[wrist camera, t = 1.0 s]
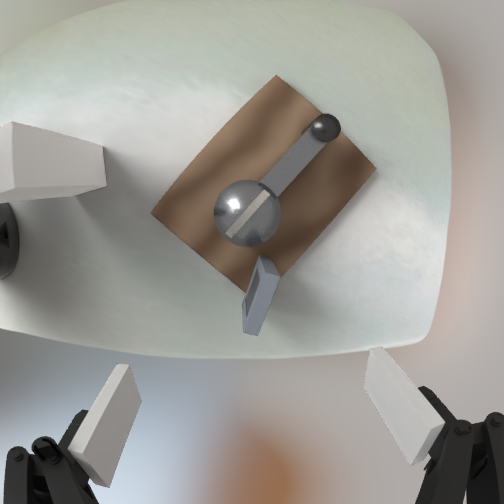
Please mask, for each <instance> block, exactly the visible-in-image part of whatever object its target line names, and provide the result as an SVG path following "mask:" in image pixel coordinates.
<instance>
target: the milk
mask: <svg viewBox="0 0 504 504" xmlns="http://www.w3.org/2000/svg"><path fill="white" fill-rule="evenodd" d="M105 186H107V182H106V174H105V166H104V157H103V147H102V145H98V144H95V143H92V142H88V141H85V140H81V139H78V138H74V137H71V136H67V135H63V134H60V133H56V132H52V131H48V130H45V129H41V128H37V127H33V126H29V125H24V124H20V123H16V122H10V123H7V124H4V125H1V126H0V203H8V202H16V201H25V200H34V199H44V198H55V197H67V196H76V195H79V194H82V193H85V192H89V191H92V190H95V189H99V188H102V187H105Z"/></svg>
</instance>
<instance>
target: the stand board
mask: <svg viewBox="0 0 504 504" xmlns="http://www.w3.org/2000/svg"><path fill="white" fill-rule="evenodd" d="M321 114H322V113H321V112H320V111H319V110H318V109H317V108H316V107H314V106H313V105H312V104H311V103H310V102H309V101H308V100H306V99H305V98H304V97H303V96H302V95H301V94H299V93H298V92H297V91H296V90H295V89H293V88H292V87H291V86H290V85H288V84H287V83H286V82H285V81H283V80H282V79H281V78H280V77H278V76H277V75H276V76H274V77H273V78H272V79H271V80H270V81H269V82H268V83H267V84H266V85H265V86H264V87H263V88H261V89H260V90H259V91H258V92H257V93H256V94H255V95H254V96H253V97H252V98H251V99H250V100H249V101H248V102H247V103H246V104H245V105H244V106H243V107H242V108H241V109H240V110H239V111H238V112H237V113H236V114H235V115H234V116H233V117H232V118H231V119H230V120H229V121H228V122H227V123H226V124H225V126H224V127H223V128H222V129H221V130H220V131H219V132H218V133H217V134H216V135H215V136H214V137H213V138H212V140H211V141H210V142H209V143H208V144H207V145H206V146H205V147H204V148H203V150H202V151H201V152H200V153H199V154H198V155H197V156H196V157H195V159H194V160H193V161H192V162H191V163H190V164H189V166H188V167H187V168H186V169H185V170H184V172H183V173H182V174H181V175H180V176H179V178H178V179H177V180H176V181H175V182H174V184H173V185H172V186H171V187H170V189H169V190H168V191H167V192H166V194H165V195H164V196H163V197H162V199H161V200H160V201H159V203H158V204H157V205H156V206H155V208H154V209H153V210H152V212H151V214H152V215H153V216H154V217H156V218H157V219H158V220H159V221H160V222H161V223H162V224H164V225H165V226H166V227H167V228H168V229H169V230H171V231H172V232H173V233H174V234H175V235H176V236H178V237H179V238H180V239H181V240H182V241H183V242H185V243H186V244H187V245H188V246H189V247H191V248H192V249H193V250H194V251H195V252H197V253H198V254H199V255H200V256H201V257H203V258H204V259H205V260H206V261H207V262H209V263H210V264H211V265H212V266H213V267H215V268H216V269H217V270H218V271H219V272H221V273H222V274H223V275H224V276H226V277H227V278H228V279H229V280H230V281H232V282H233V283H234V284H235V285H237V286H238V287H239V288H240V289H242V290H243V291H244V292H245V293H246V292H247V289H248V286H249V283H250V280H251V277H252V274H253V271H254V269H255V266H256V263H257V260H258V257H259V255H261V256H265V257H268V258H271V259H272V261H273V263H274V265H275V267H276V269H277V271H278V273H279V275H280V278H281V277H282V276H283V275H284V273H285V272H286V271H287V270H288V269H289V268H290V267H291V266H292V265H293V264H294V263H295V261H296V260H297V259H298V258H299V257H300V256H301V255H302V254H303V253H304V252H305V250H306V249H307V248H308V247H309V246H310V245H311V244H312V243H313V241H314V240H315V239H316V238H317V237H318V236H319V235H320V234H321V232H322V231H323V230H324V229H325V228H326V227H327V226H328V224H329V223H330V222H331V221H332V220H333V219H334V218H335V216H336V215H337V214H338V213H339V212H340V211H341V210H342V208H343V207H344V206H345V205H346V204H347V203H348V201H349V200H350V199H351V198H352V197H353V196H354V194H355V193H356V192H357V191H358V190H359V188H360V187H361V186H362V185H363V184H364V182H365V181H366V180H367V179H368V178H369V177H370V175H371V174H372V173H373V172H374V170H375V169H376V168H375V166H374V165H373V164H372V163H371V162H370V161H369V160H368V159H367V158H366V157H365V156H364V154H363V153H362V152H361V151H360V150H359V149H358V148H357V147H356V146H355V145H354V144H353V143H352V142H351V141H350V140H349V139H348V138H347V137H346V136H345V135H344V134H343V133H342V132H340V134H339V136H338V137H337V138H336V139H334V140H332V141H330V142H328V143H326V144H325V145H324V147H323V148H322V149H321V150H320V151H319V152H318V153H317V154H316V155H315V156H314V157H313V159H312V160H311V161H310V162H309V163H308V164H307V165H306V166H305V167H304V168H303V170H302V171H301V172H300V173H299V174H298V175H297V176H296V177H295V178H294V180H293V181H292V182H291V183H290V184H289V185H288V186H287V187H286V188H285V190H284V191H283V192H282V193H281V194H280V195H279V196H278V197H277V198H278V200H279V203H280V206H281V220H280V224H279V226H278V229H277V230H276V232H275V233H274V235H273V236H272V237H271V238H270V239H268V240H267V241H266V242H264V243H262V244H260V245H257V246H253V247H242V246H237V245H235V244H232V243H231V242H229V241H227V240H226V239H225V238H224V237H223V236H222V235H221V234H220V233H219V231H218V229H217V227H216V225H215V221H214V206H215V202H216V200H217V198H218V196H219V194H220V193H221V192H222V191H223V190H224V189H225V188H226V187H227V186H229V185H230V184H232V183H234V182H237V181H240V180H255V181H258V182H259V180H260V179H261V178H262V177H263V176H264V175H265V174H266V173H267V172H268V171H269V169H270V168H271V167H272V166H273V165H274V164H275V163H276V162H277V161H278V160H279V159H280V157H281V156H282V155H283V154H284V153H285V152H286V151H287V150H288V149H289V148H290V147H291V146H292V145H293V143H294V142H295V141H296V140H297V139H298V138H299V137H300V136H301V133H302V131H303V129H304V128H305V127H307V126H308V125H309V124H310V123H311V122H312V121H313V120H314V119H315V118H317V117H318V116H319V115H321Z"/></svg>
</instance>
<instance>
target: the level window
mask: <svg viewBox="0 0 504 504" xmlns="http://www.w3.org/2000/svg"><path fill="white" fill-rule="evenodd" d="M279 279H280V275H279V273H278V271H277V269H276V267H275V265H274V263H273V261H272V259H271V258H268V257H265V256H261V255H259V257H258V260H257V263H256V266H255V269H254V271H253V274H252V277H251V280H250V283H249V286H248V289H247V292H246V294H245V297H244V300H243V303H242V314H243V333H247V334H251V335H255V336H258V334H259V331H260V329H261V326H262V324H263V321H264V319H265V316H266V313H267V311H268V308H269V306H270V304H271V300H272V298H273V295H274V292H275V290H276V287H277V284H278V282H279Z"/></svg>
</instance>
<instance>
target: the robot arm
mask: <svg viewBox="0 0 504 504" xmlns="http://www.w3.org/2000/svg"><path fill="white" fill-rule="evenodd" d="M18 252H19V236H18V228H17V224H16V220H15V217H14V214H13V212H12V209H11V207H10V206H9V204H8V203H0V279H1V278H3V277H5V276H8V275H9V274H10V273H11V272H12V271H13V269H14V267H15V265H16V262H17V258H18ZM363 387H364V389H365V391H366V392H367V394H368V395H369V397H370V399H371V400H372V402H373V404H374V405H375V407H376V409H377V410H378V412H379V414H380V415H381V417H382V419H383V420H384V422H385V424H386V426H387V427H388V429H389V431H390V432H391V434H392V436H393V437H394V439H395V441H396V442H397V444H398V446H399V448H400V449H401V451H402V453H403V455H404V456H405V458H406V460H407V462H408V463H409V465H410V466H412V465H414V464H416V463H418V462H420V461H423V460H424V459H425V457H426V456H427V454H428V453H429V455H430V456H431V459H430V460H429V462H428V463H427V465H426V466H425V468H424V470H426V469H427V470H426V473H425V477H424V480H423V483H422V486H421V489H420V492H419V494H418V497H417V500H416V503H415V504H463V500H464V496H465V491H466V496H467V504H504V415H503V414H501V413H498V412H493V413H490V414H489V415H488V416H487V417H486V419H485V421H484V422H480V423H475V424H471V423H470V422H468V421H466V420H457V419H456V418H455V417H454V416H453V415H452V413H451V412H450V411H449V410H448V409H447V407H446V406H445V405H444V404H443V403H441V401H440V399H439V398H437V396H436V395H435V394H434V393H433V391H432V390H430V389H428V388H427V387H425V386H422V387H419V388H417V387H416V386H415V385H414V383H413V382H412V381H411V380H410V379H409V378H408V376H407V375H406V374H405V373H404V372H403V370H402V369H401V368H400V367H399V366H398V365H397V363H396V362H395V361H394V360H393V359H392V358H391V356H390V355H389V354H388V353H387V352H386V351H385V349H384V348H383V347H378V348H373V349H370V353H369V359H368V365H367V369H366V374H365V379H364V384H363ZM141 402H142V401H141V398H140V395H139V393H138V389H137V387H136V384H135V381H134V378H133V374H132V371H131V368H130V365H127V364H117V365H116V367H115V369H114V370H113V372H112V373H111V375H110V376H109V378H108V380H107V382H106V383H105V385H104V386H103V388H102V390H101V391H100V393H99V395H98V396H97V398H96V400H95V401H94V403H93V405H92V406H91V408H90V410H89V411H88V410H81V411H80V412H79V413H78V414H77V415H75V417H74V419H73V420H72V423H71V424H70V425H69V427H68V429H67V430H66V432H65V434H64V435H63V437H62V439H61V440H60V442H59V444H58V445H57V443H56V442H55V441H54V439H52V438H51V437H47V436H44V437H40V438H38V439H36V440H35V441H34V442H33V444H32V451H33V452H34V454H35V455H34V454H29V453H28V452H27V450H26V449H25V448H23V447H20V446H17V447H13V448H12V449H10V451H9V452H8V454H7V460H6V469H5V480H4V504H99V503H98V501H97V499H96V497H95V495H94V493H93V491H92V489H91V487H90V485H89V484H88V481H89V478H90V479H91V480H92V481H93V482H94V483H95V484H97V485H100V486H104V487H108V488H109V487H110V484H111V482H112V479H113V476H114V473H115V470H116V467H117V464H118V462H119V459H120V456H121V453H122V451H123V448H124V446H125V443H126V440H127V438H128V435H129V432H130V430H131V427H132V425H133V422H134V419H135V417H136V414H137V412H138V409H139V407H140V404H141Z"/></svg>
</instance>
